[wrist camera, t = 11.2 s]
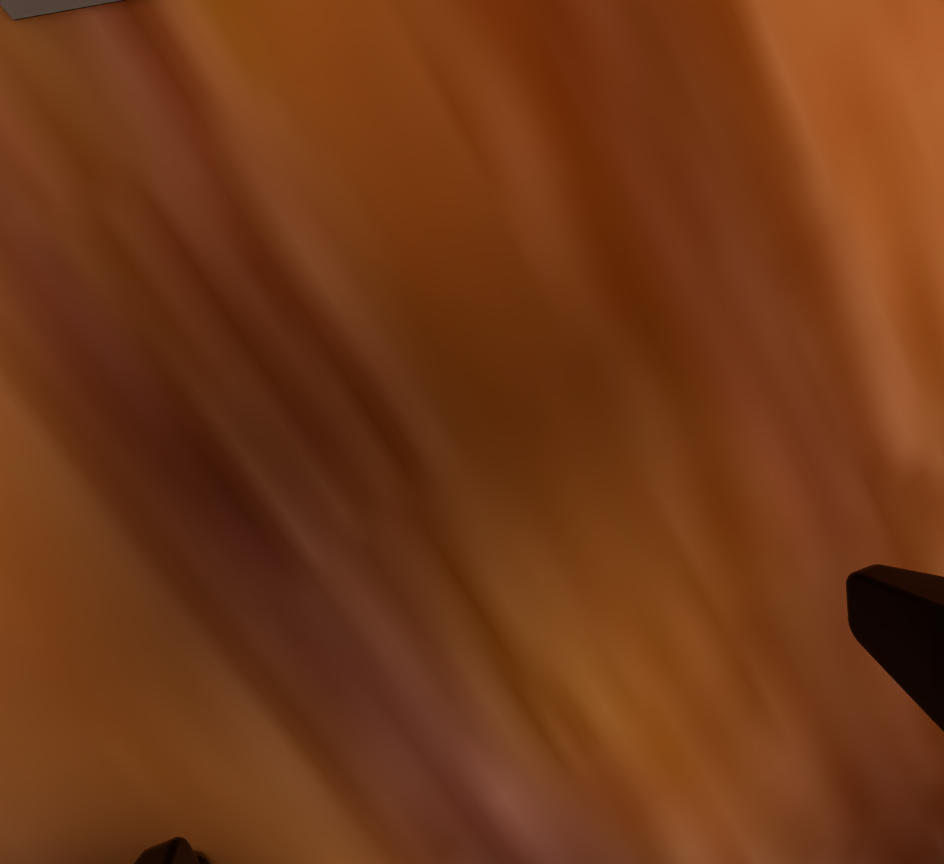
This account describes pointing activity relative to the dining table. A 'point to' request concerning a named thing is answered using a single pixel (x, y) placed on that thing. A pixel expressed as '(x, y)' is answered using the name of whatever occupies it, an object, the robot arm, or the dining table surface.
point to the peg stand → (44, 6)
